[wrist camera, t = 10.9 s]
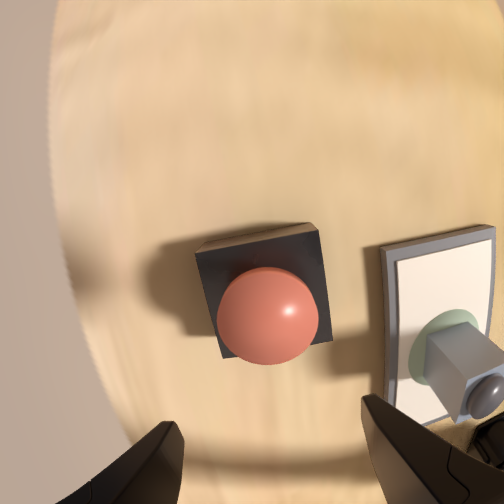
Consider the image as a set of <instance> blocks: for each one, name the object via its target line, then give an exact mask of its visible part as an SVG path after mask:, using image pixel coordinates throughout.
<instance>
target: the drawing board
mask: <svg viewBox="0 0 504 504" xmlns="http://www.w3.org/2000/svg"><path fill="white" fill-rule="evenodd" d="M380 255H381V267H382V280H383V297H384V321H385V379H384V400H385V401H387V402H388V403H390V404H391V405H393V406H394V407H396V408H397V409H399V410H400V411H401V412H403V413H404V414H406V415H407V416H409V417H410V418H412V419H413V420H415V421H416V422H418V423H419V424H421V425H422V426H427V425H429V424H432V423H435V422H437V421H440V420H442V419H445V418H447V417H450V415H449V414H448V412H447V411H446V409H445V408H444V406H443V405H442V403H441V402H440V400H439V399H438V397H437V396H436V394H435V393H434V392H433V390H432V389H431V387H430V386H429V384H428V383H427V381H426V380H425V379H424V377H423V372H424V363H425V352H426V340H427V334H431V333H434V332H437V331H440V330H444V329H447V328H450V327H453V326H456V325H459V324H462V323H465V322H469V323H471V324H472V325H473V326H474V327H475V328H477V329H478V330H479V331H480V332H481V333H483V334H484V335H485V336H486V337H487V338H488V337H489V330H490V323H491V315H492V307H493V296H494V283H495V263H496V227H494V226H490V225H482V226H478V227H473V228H468V229H464V230H459V231H455V232H450V233H445V234H441V235H436V236H431V237H426V238H422V239H417V240H412V241H407V242H402V243H398V244H393V245H388V246H383V247H380Z"/></svg>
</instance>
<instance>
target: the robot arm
mask: <svg viewBox="0 0 504 504" xmlns="http://www.w3.org/2000/svg"><path fill="white" fill-rule="evenodd" d="M361 420H362V424H363V428H364V432H365V436H366V441H367V445H368V449H369V453H370V457H371V461H372V464H373V467H374V469H375V472H376V475H377V477H378V480H379V482H380V485H381V488H382V490H383V493H384V495H385V498H386V501H387V503H388V504H504V413H503V414H501V415H499V416H497V417H495V418H494V419H492V420H490V421H488V422H486V423H484V424H482V425H480V426H479V427H478V428H477V429H476V431H475V434H474V437H473V439H472V442H471V444H470V447H469V449H468V452H467V453H465V452H463V451H461V450H460V449H458V448H457V447H455V446H452V445H451V444H450V443H449V442H447V441H445V440H444V439H442V438H441V437H439V436H438V435H436V434H435V433H433V432H432V431H430V430H429V429H427V428H425V427H424V426H422V425H421V424H419V423H418V422H416V421H415V420H413V419H412V418H410V417H409V416H407V415H406V414H404V413H403V412H401V411H400V410H399V409H397V408H396V407H394V406H393V405H391V404H390V403H388V402H387V401H385V400H384V399H382V398H381V397H380V396H378V395H377V394H374V393H373V394H369V395H365V396H363V397H362V398H361ZM451 446H452V447H451ZM183 456H184V438H183V436H182V434H181V432H180V430H179V428H178V426H177V424H176V423H175V422H174V421H162V422H161V423H159V424H158V425H157V426H156V427H155V428H154V429H152V430H151V431H150V432H149V433H148V434H147V435H145V436H144V437H143V438H142V439H141V440H139V441H138V442H137V443H136V444H135V445H133V446H132V447H131V448H130V449H129V450H127V451H126V452H125V453H124V454H123V455H121V456H120V457H119V458H118V459H116V460H115V461H114V462H113V463H111V464H110V465H109V466H108V467H107V468H105V469H104V470H103V471H101V472H100V473H99V474H98V475H96V476H95V477H94V478H92V479H91V481H88V482H87V483H86V484H84V485H83V486H82V487H80V488H79V489H78V490H76V491H75V492H73V493H72V494H70V495H69V496H67V497H66V498H65V499H62V500H61V501H59V502H58V503H56V504H177V501H178V496H179V491H180V486H181V480H182V468H183Z"/></svg>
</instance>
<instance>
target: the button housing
mask: <svg viewBox="0 0 504 504" xmlns="http://www.w3.org/2000/svg"><path fill="white" fill-rule="evenodd" d="M195 257H196V261H197V265H198V269H199V273H200V277H201V281H202V284H203V288H204V292H205V296H206V300H207V304H208V307H209V311H210V315H211V318H212V322H213V326H214V329H215V333H216V336H217V340H218V343H219V347H220V350H221V354H222V357H223V359H225V358H233V357H238V356H236V355H235V354H234V353H233V352H231V351H230V350H229V349H228V348H227V346H226V345H225V344H224V342H223V341H222V339H221V337H220V334H219V331H218V327H217V312H218V308H219V305H220V302H221V300H222V297H223V295H224V292H225V291H226V289H227V287H228V286H229V285H230V284H231V282H232V281H233V280H235V279H236V278H237V277H238V276H240V275H241V274H243V273H245V272H247V271H250V270H252V269H256V268H262V267H274V268H280V269H283V270H286V271H289V272H291V273H293V274H294V275H296V276H297V277H299V278H300V279H301V280H302V281H303V282H304V283H305V284H306V285H307V287H308V288H309V290H310V292H311V294H312V296H313V299H314V301H315V304H316V307H317V311H318V328H317V332H316V334H315V337H314V339H313V340H312V342H311V344H310V345H313V344H318V343H323V342H328V341H333V336H332V327H331V318H330V309H329V301H328V293H327V286H326V278H325V271H324V264H323V257H322V250H321V244H320V237H319V231H318V229H317V228H316V227H315V226H314V225H313V224H312V223H311V222H310V223H305V224H299V225H294V226H288V227H283V228H278V229H273V230H267V231H262V232H257V233H252V234H246V235H241V236H236V237H231V238H226V239H221V240H216V241H211V242H205V243H204V244H203V245H202V246H201V247H200V248H199V249H198V250H197V251H196V252H195Z"/></svg>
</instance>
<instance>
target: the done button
mask: <svg viewBox="0 0 504 504" xmlns="http://www.w3.org/2000/svg"><path fill="white" fill-rule="evenodd" d="M217 327H218V331H219V334H220V337H221V339H222V341H223V342H224V344H225V345H226V346H227V348H228V349H229V350H230V351H231V352H233V353H234V354H235V355H236V356H238V357H240V358H241V359H243V360H245V361H248V362H251V363H255V364H261V365H274V364H280V363H284V362H286V361H289V360H291V359H293V358H295V357H297V356H298V355H300V354H301V353H302V352H303V351H304V350H305V349H306V348H307V347H308V346H309V345H310V344H311V342H312V340H313V339H314V337H315V334H316V332H317V328H318V311H317V307H316V304H315V301H314V299H313V296H312V294H311V292H310V290H309V288H308V287H307V285H306V284H305V283H304V282H303V281H302V280H301V279H300V278H299V277H297V276H296V275H294V274H293V273H291V272H289V271H286V270H283V269H280V268H274V267H262V268H256V269H252V270H250V271H247V272H245V273H243V274H241V275H240V276H238V277H237V278H236V279H235V280H233V281H232V282H231V284H230V285H229V286H228V287H227V289H226V291H225V292H224V295H223V297H222V300H221V302H220V305H219V308H218V312H217Z"/></svg>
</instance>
